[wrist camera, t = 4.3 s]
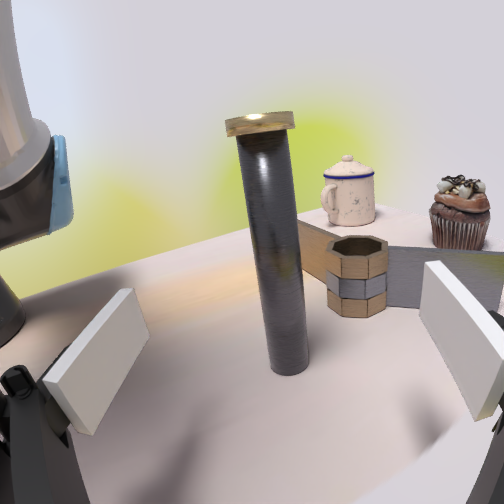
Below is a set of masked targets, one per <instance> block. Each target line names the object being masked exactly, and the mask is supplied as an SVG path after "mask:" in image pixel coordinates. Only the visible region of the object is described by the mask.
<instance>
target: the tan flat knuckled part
mask: <svg viewBox="0 0 504 504" xmlns="http://www.w3.org/2000/svg"><path fill="white" fill-rule="evenodd" d="M297 220H298V219H297ZM298 230H299V241H300V251H301V262H302V269H304V270H305V271H307V272H308V273H310V274H311V275H313V276H315V277H316V278H318V279H319V280H321V281H322V282H324V283H325V284H326V270H328V271H330V272H331V273H333V274H335V275H337V276H338V277H340V278H346V279H370V278H372V277H375V276H377V275H379V274H382V273H384V272H386V271H387V270H388V242H387V241H384V240H382V239H379V238H376V237H374V236H361V235H349V236H345V237H340V236H338V235H335V234H333V233H330V232H328V231H325V230H323V229H320V228H318V227H315V226H313V225H310V224H308V223H305V222H303V221H300V220H298ZM349 255H368V256H349ZM386 291H387V289H386ZM386 291H385V292H383V293H381V294H378V295H376V296H373V297H370V298H368V299H353V298H342V297H338V296H337V295H336V294H335V293H333V292H332V291H331V290H330V289H328V288H327V300H328V307H330V308H331V309H332V310H334V311H335V312H337V313H338V314H339V315H341V316H344V317H363V318H366V317H369V316H371V315H373V314H375V313H377V312H379V311H381V310H383V309H385V306H386Z"/></svg>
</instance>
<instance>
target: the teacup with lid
mask: <svg viewBox="0 0 504 504" xmlns="http://www.w3.org/2000/svg"><path fill="white" fill-rule="evenodd" d="M373 175H374V172H373V169H372V168H370V167H367V166H364V165H363V164H361V163H360V162H357V161H353V156H352V155H344V156H342V162H338V163H337V164H335V165H334V166H333V167H331V168H329V169H326V170H325V171H324V177H325V183H326V187H325V188H324V189H323V190H322V193H321V203H322V206H323V208H324V210H325V211H326V212H327V213H328V219H329V221H330V222H331V223H333V224H335V225H340V226H360V225H365V224H368V223H371V222H372V221H373V220H374V219H375V202H374V181H373Z"/></svg>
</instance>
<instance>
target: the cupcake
mask: <svg viewBox="0 0 504 504" xmlns="http://www.w3.org/2000/svg"><path fill="white" fill-rule="evenodd" d="M453 179H454V180H453ZM437 187H438V189H439V192H438V193H437V194H435V198H434V199H435V201H436V202H435V203H433V205H432V206H431V208H430V209H429V215H430V219H431V225H432V232H433V243H434V245H435V246H436V247H437V248H439V249H457V250H475V251H481V250H482V247H483V243H484V239H485V236H486V232H487V229H488V225H489V222H490V212H489V209H490V205H489V201H488V199H487V196H486V195H485V184H484V183H483V182H480V180H479V179H478V180H476V179H474V180H472V179H469V180H466V181H465V177H464V176H463V175H458V176H457V177H450V176H447V177H445V178H442V182H439V183H438V184H437Z"/></svg>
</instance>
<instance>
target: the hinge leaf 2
mask: <svg viewBox="0 0 504 504" xmlns="http://www.w3.org/2000/svg"><path fill="white" fill-rule="evenodd" d="M349 256H368V255H349ZM438 260H440V261H441V262H442V263H443V264H444V265H445V266H446V267H447V268H448V269H449V270H450V272H451V273H452V274H453V275H454V276H455V277H456V278H457V279H458V280H459V281H460V282H461V283H462V284H463V285H464V286H465V287H466V288H467V289H468V291H469V292H470V293H471V294H472V295H473V296H474V297H475V298H476V299H477V301H478V302H479V303H480V304H481V305H482V306H483V307H484V308H485V310H486V311H491V310H493V311H495V312H497V311H498V307H499V303H500V298H501V294H502V289H503V285H504V252H492V251H475V250H457V249H439V248H420V247H400V246H388V270H387V271H386V272H384V273H382V274H379V275H377V276H375V277H372V278H370V279H346V278H340V277H338V276H337V275H335V274H333V273H331V272H330V271H328V270H326V284H327V288H328V289H330V290H331V291H332V292H333V293H335V294H336V295H337V296H338V297H342V298H353V299H368V298H370V297H373V296H376V295H378V294H381V293H383V292H385V291H386V289H387V291H386V306H398V307H411V308H420V303H421V295H422V286H423V276H424V264H425V262H430V261H438Z"/></svg>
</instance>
